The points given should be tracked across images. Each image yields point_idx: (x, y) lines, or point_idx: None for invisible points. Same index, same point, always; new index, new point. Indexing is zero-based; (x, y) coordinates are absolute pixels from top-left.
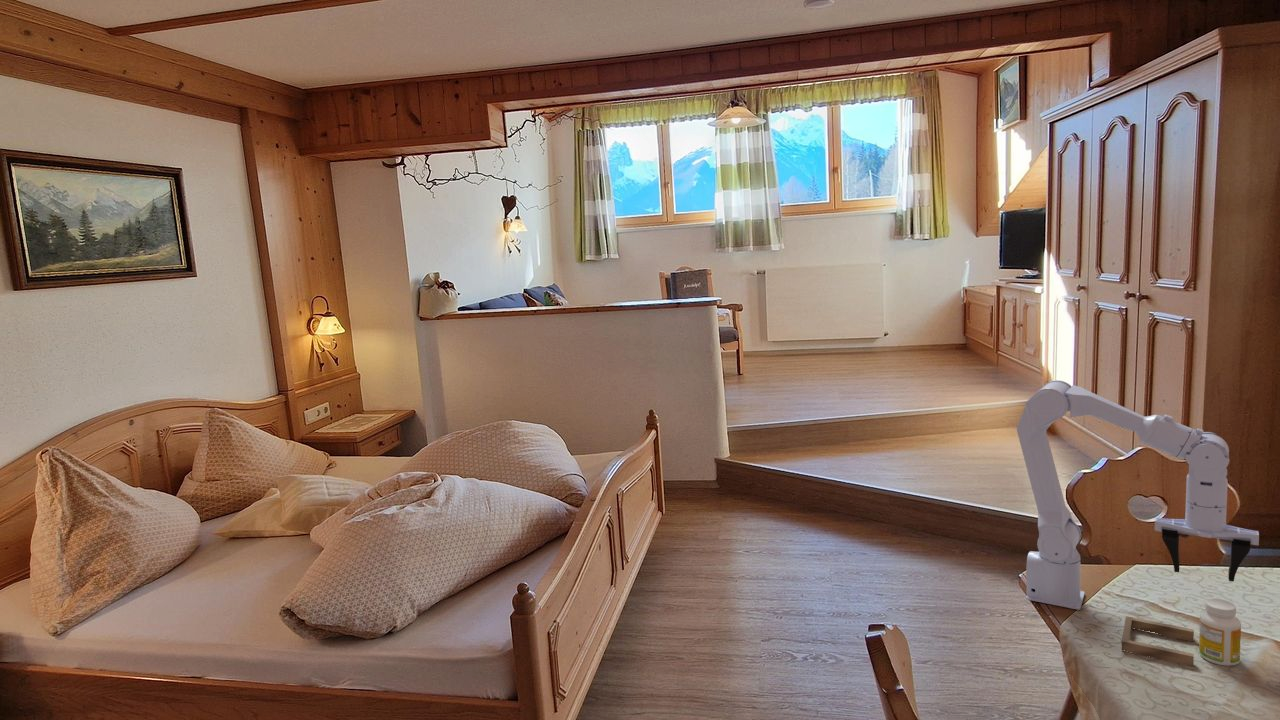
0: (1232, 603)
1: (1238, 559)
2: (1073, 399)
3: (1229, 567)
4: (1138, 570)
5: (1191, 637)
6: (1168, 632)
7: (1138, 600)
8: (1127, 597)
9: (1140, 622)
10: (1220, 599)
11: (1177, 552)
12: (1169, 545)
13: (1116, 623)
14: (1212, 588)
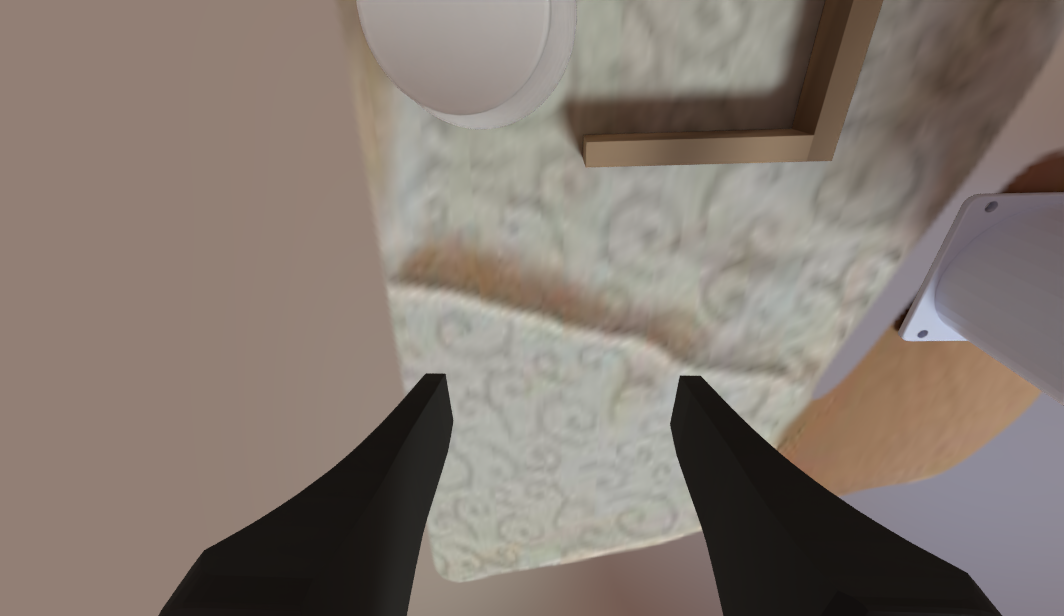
0: (388, 75)
1: (332, 487)
2: None
3: (434, 458)
4: (694, 512)
5: (591, 138)
6: (668, 136)
7: (723, 360)
8: (753, 366)
9: (778, 136)
10: (461, 109)
11: (753, 479)
12: (862, 529)
13: (840, 151)
14: (533, 486)
